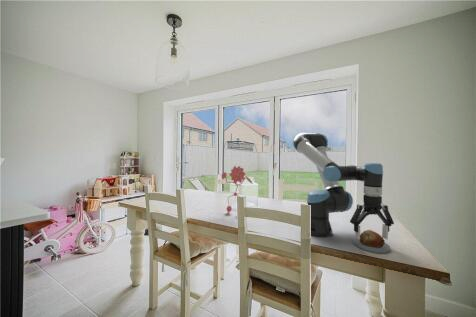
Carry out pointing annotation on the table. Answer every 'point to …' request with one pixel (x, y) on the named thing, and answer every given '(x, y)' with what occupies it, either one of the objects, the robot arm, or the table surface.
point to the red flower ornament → (235, 180)
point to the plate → (372, 249)
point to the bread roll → (371, 239)
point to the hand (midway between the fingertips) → (371, 238)
